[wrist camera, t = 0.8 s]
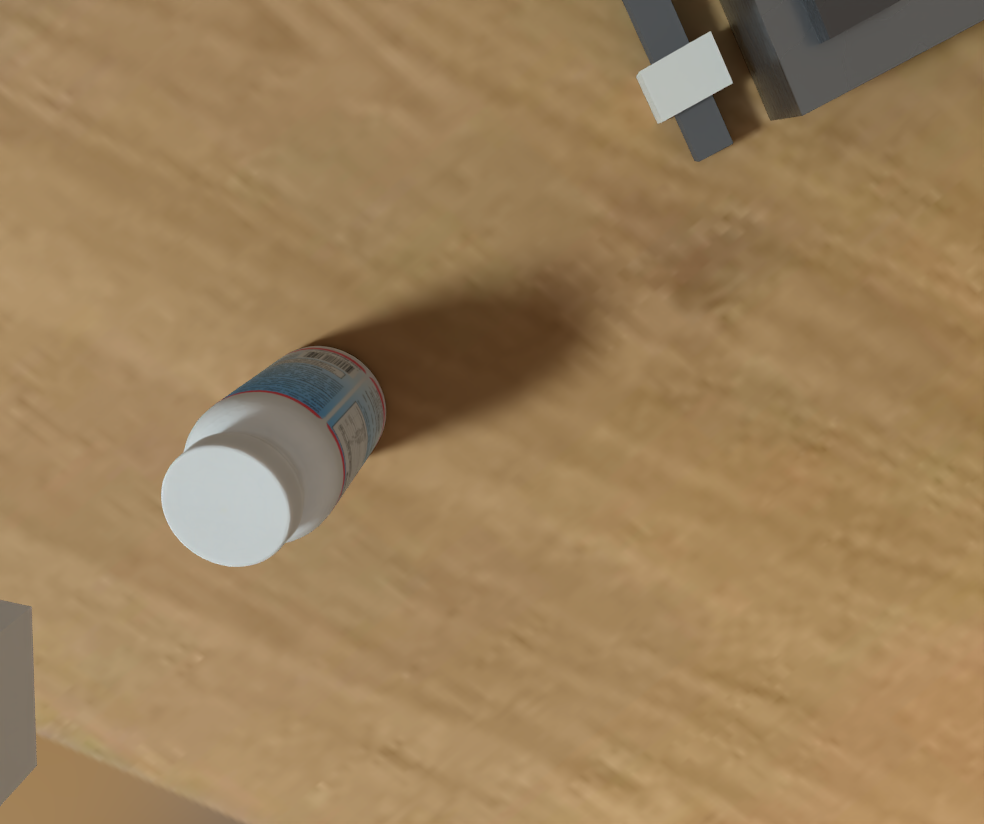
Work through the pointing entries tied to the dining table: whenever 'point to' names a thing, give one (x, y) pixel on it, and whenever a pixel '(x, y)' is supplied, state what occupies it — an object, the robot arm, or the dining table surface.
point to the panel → (835, 43)
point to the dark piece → (681, 76)
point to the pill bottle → (274, 456)
